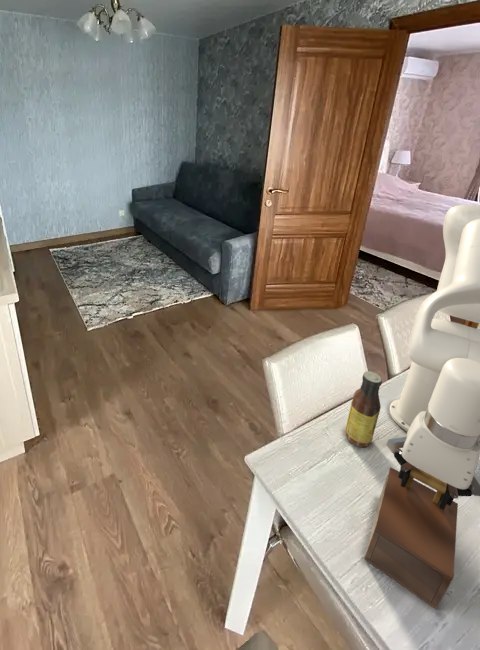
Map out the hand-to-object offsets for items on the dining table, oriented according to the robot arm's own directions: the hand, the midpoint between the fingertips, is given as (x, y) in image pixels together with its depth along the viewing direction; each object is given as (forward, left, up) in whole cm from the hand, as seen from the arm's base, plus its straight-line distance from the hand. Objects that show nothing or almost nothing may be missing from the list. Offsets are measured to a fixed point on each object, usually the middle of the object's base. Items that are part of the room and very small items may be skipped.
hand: (422, 491), depth 67 cm
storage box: (+4, +2, -11) cm, 12 cm away
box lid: (+4, +2, -2) cm, 5 cm away
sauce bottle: (-8, -19, -11) cm, 24 cm away
